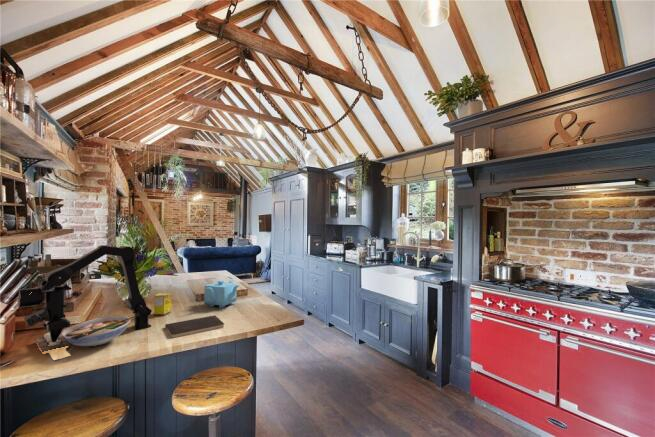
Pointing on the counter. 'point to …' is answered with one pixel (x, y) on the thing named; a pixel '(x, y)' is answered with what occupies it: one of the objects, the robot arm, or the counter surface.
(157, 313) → the supplement box
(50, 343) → the button
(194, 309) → the counter surface
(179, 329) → the hardcover book
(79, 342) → the ramen bowl
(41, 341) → the button board
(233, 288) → the teakettle
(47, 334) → the button
